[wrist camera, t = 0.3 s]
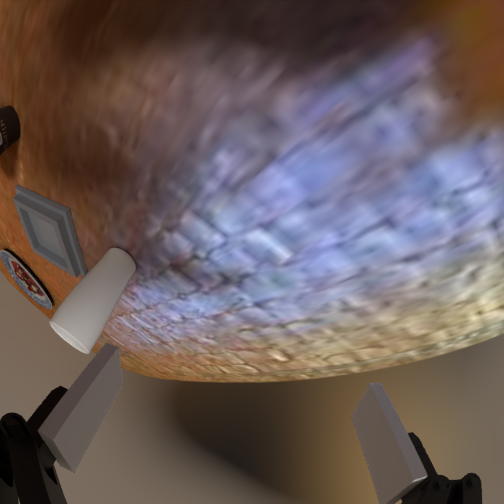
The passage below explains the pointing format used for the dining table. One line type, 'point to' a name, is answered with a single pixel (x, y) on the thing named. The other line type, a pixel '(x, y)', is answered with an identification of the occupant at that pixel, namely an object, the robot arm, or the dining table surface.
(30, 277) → the ceramic plate
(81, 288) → the drinking glass
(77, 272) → the plastic holder
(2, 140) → the coffee mug
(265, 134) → the dining table surface
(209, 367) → the dining table surface
